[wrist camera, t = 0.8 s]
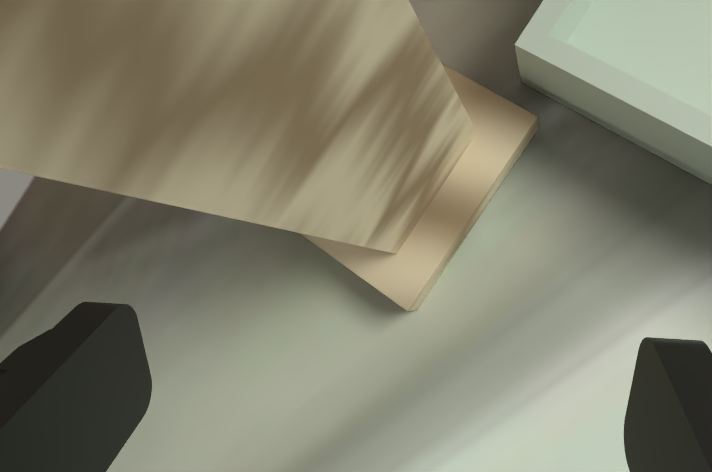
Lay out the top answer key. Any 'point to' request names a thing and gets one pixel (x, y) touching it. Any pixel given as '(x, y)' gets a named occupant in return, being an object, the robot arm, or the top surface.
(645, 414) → the robot arm
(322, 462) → the top surface
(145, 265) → the top surface
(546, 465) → the top surface
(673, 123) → the tray
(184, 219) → the top surface
